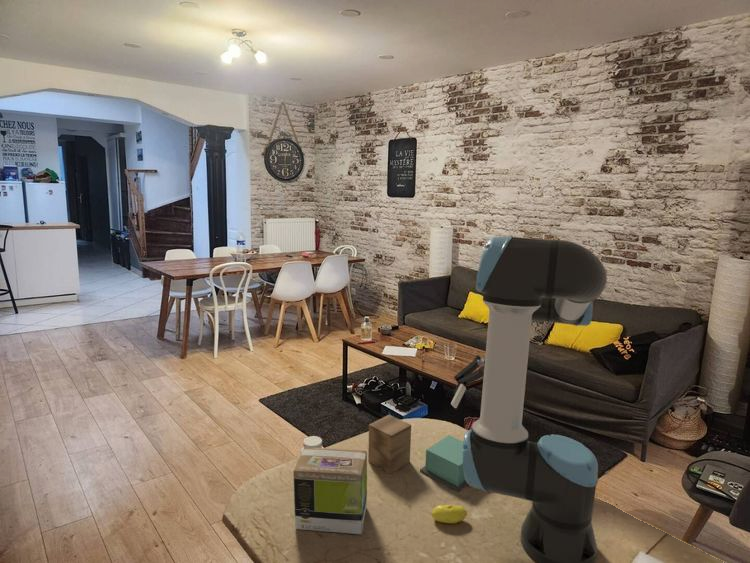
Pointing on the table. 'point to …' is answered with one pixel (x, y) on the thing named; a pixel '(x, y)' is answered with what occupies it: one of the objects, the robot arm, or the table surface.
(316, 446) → the pill bottle
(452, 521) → the yellow oblong rounded piece
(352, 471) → the tea box
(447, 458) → the teal square block
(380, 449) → the walnut box
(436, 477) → the rubber mat
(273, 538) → the table surface
